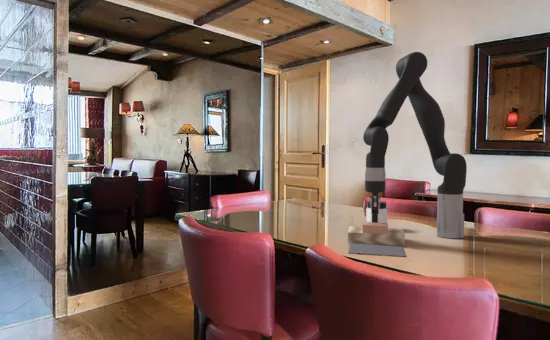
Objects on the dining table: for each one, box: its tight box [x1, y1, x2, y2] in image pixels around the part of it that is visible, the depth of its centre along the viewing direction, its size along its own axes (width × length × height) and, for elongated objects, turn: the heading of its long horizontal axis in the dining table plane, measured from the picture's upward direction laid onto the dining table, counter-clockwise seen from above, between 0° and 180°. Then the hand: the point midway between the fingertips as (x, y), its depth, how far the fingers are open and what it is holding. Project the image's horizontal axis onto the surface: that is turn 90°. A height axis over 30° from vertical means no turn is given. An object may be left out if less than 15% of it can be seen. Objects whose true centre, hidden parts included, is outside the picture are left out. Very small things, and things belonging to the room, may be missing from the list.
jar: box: [365, 200, 388, 223], centre depth 159 cm, size 9×8×12 cm
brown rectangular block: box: [362, 221, 389, 234], centre depth 134 cm, size 9×6×3 cm, turn 74°
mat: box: [348, 243, 407, 258], centre depth 124 cm, size 18×14×1 cm
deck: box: [347, 225, 406, 247], centre depth 136 cm, size 20×12×4 cm, turn 75°
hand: (374, 224), depth 138 cm, fingers closed
